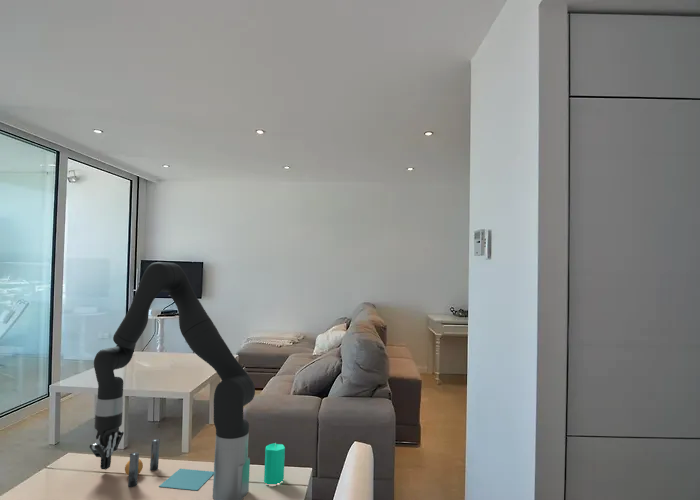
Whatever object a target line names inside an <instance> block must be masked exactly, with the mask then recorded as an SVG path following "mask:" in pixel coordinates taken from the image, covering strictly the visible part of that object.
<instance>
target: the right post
mask: <svg viewBox="0 0 700 500" xmlns="http://www.w3.org/2000/svg"><path fill="white" fill-rule="evenodd" d="M160 443H161V440H160V438H154V439H152V440H151V445H150V446H151V447H150V461H149V462H150V463H149V471H152V472H154V471H157V470H159V460H160V459H159V458H160V446H161V445H160Z"/></svg>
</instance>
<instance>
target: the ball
mask: <svg viewBox="0 0 700 500" xmlns="http://www.w3.org/2000/svg"><path fill="white" fill-rule="evenodd" d="M129 464H130V460H128V461H127V462H126V464H125V466H124V472H125V474H126V475H127V477H129ZM143 468H144V464H143V461H142V459H140V458H139V463H138V475H139V474H140V473H141V472H142V470H143Z"/></svg>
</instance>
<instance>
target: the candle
mask: <svg viewBox="0 0 700 500" xmlns="http://www.w3.org/2000/svg"><path fill="white" fill-rule="evenodd" d="M285 451H286V447H285V445H284V444H282V443H277V442H276V441H275V443H270V444H267V445H266V446H265V450H264V454H265V456H264V470H263V471H264V473H263V474H264V475H263V477H264V478H263V483H264V482H265V483H267V484H277V483H280V482H281V481H283V479H284V480H285V476H284V475H285V455H286V452H285ZM283 482H284V481H283Z"/></svg>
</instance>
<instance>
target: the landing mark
mask: <svg viewBox="0 0 700 500" xmlns="http://www.w3.org/2000/svg"><path fill="white" fill-rule="evenodd" d="M213 476H214V471H209V470H198V469H190V468H189V469H188V468H178V470H176V471H175V472H174V473H173V474H172V475H171V476H169V477H168V478H167V479H165V480H164V481H163V482H162V483H161V484H160V485H158V488H167V489H177V490H184V491H185V490H186V491H194V492H195V491H197V492H198V491H199V490H200V489H201V488H202V487H203V486H204V485H205V484H206V483H207V482H208V481H209V480H210V479H211V478H212V477H213Z"/></svg>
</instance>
